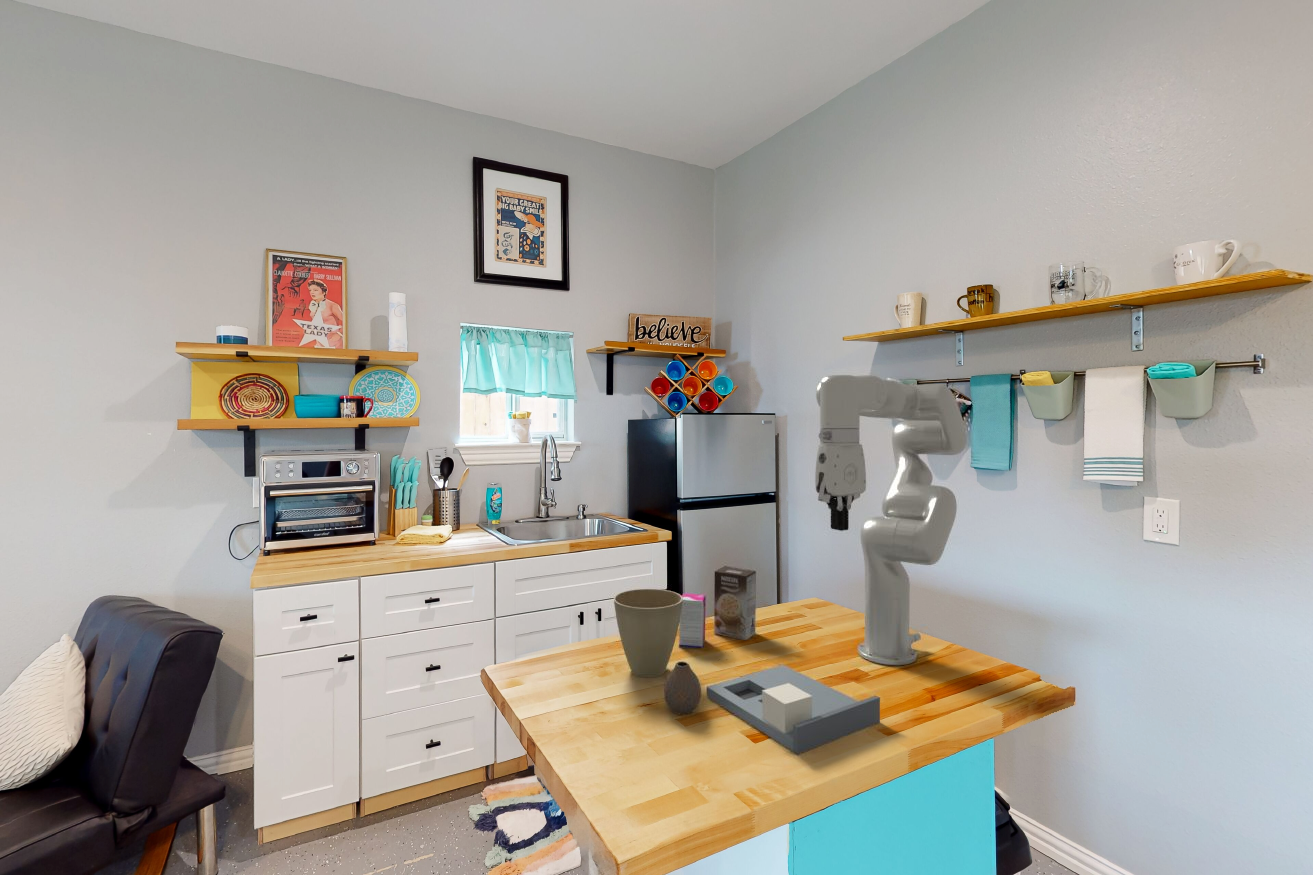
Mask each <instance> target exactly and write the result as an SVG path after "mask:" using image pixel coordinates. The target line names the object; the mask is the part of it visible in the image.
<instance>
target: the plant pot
mask: <svg viewBox="0 0 1313 875" xmlns="http://www.w3.org/2000/svg"><path fill="white" fill-rule="evenodd" d="M682 602H683V597H682V595H681V594H680V593H677V592H675V591H671V590H667V589H660V588H659V589H658V588H639V589H637V588H636V589H630V590H624V591H620V592H619V593H617V594H616V595H615V596H614V597H613V604H614V611H615V617H616V622H617V623H616V624H617V628H618V633H619V636H620V641H621V645H622V648H623V651H624V654H625V657H626V660H627V664H628V666H629V669H630V671H631V673H632V674H633V675H634V676H638V677H641V678H642V677H643V678H654V677H655V678H656V677H659V676H661V675H663V674H664V673H665V672H666V669H667V667H668V664H669V662H670V658H671V655H672V653H673V649H674V646H675V642H676V640H677V635H678V631H679V622H680V616H681V609H682Z"/></svg>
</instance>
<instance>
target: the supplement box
mask: <svg viewBox="0 0 1313 875" xmlns="http://www.w3.org/2000/svg"><path fill="white" fill-rule="evenodd" d="M681 596H682V597H683V602H682V609H681V616H680V622H679V627H678V631H679V632H678V633H679V634H678V648H687V649H689V648H690V649H703V647H704V643H705V642H706V604H707V603H706V602H707V601H706V600H707V599H706V594H694V593H683V594H682V595H681Z"/></svg>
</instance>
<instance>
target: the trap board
mask: <svg viewBox="0 0 1313 875" xmlns="http://www.w3.org/2000/svg"><path fill="white" fill-rule="evenodd" d="M787 683H789V684H791V685H793V686H795V687H797V688H799V689H800V690H802V691H804V692H806V693H808V694H809V695H811V696H812V718H811V719H808V720H805V721H802V722H800V723H797V724H794V725H793V731H791V732H788V733H783V732H782V731H780V730H779V729H777V728H776V727H774V726H773V725H771V724H770V723H768V722H767V721H765V720H764V719H762V690H766V689H769V688H773V687H776V686H780V685H784V684H787ZM706 698H708V699H709V700H711V701H713V702H714V703H716V704H718V705H719V706H720V707H722V708H724V709H725V710H727V711H728V712H730V713H732V714H733V715H734V716H736V717H738V718H740V719H741V720H742V721H744V722H746V723H748V724H749V726H752V727H753V728H755V729H756V730H758V731H760V732H761V733H763V734H765V735H766V736H768V737H769V738H771V739H772V740H774V741H775V742H777V743H778V744H780V745H781V746H783V747H785V748H786V749H788V750H789V751H791V752H793V754H796V755H800V754H802V753H805V752H808V751H811V750H812V749H815V748H818V747H820V746H823V745H826V744H828V743H831V742H833V741H837V740H838V739H841V738H843V737H846V736H848V735H851V734H854V733H856V732H859V731H861V730H864V729H866V728H869V727H871V726H874V725H876V724H877V725H878V724H879V723H880V722H881V697H880V696H877V695H873V696H870V697H867V698H864V699H862V700H858V699H855V698H853V697H851V696H849V695H847V694H844V693H843V692H840V691H839V690H837V689H834V688H832V687H830V686H828V685H826V684H825V683H822V682H820V681H817V680H816V679H813V678H812V677H809V676H807V675H805V674H804V673H801V672H799V671H797V670H795V669H793V668H790V666H786V665H784V664H781V665H776V666H774V667H771V668H766V669H764V670H759V671H756V672H753V673H749V674H745V675H743V676H739V677H736V678H732V679H728V680H726V681H722V682H718V683H714V684H711V685H708V686H706Z"/></svg>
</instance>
